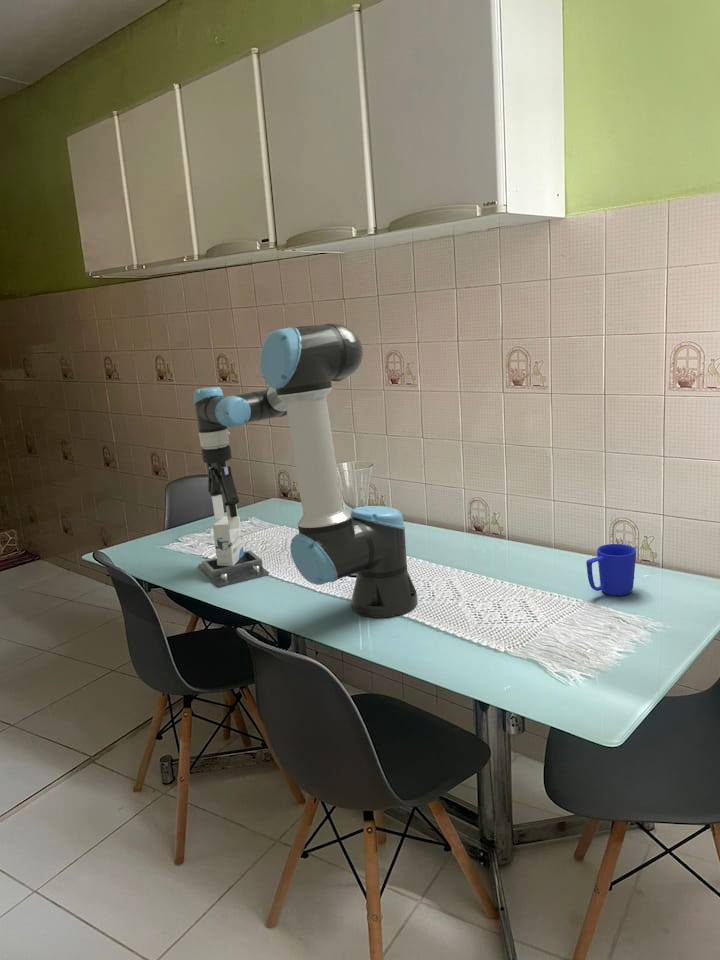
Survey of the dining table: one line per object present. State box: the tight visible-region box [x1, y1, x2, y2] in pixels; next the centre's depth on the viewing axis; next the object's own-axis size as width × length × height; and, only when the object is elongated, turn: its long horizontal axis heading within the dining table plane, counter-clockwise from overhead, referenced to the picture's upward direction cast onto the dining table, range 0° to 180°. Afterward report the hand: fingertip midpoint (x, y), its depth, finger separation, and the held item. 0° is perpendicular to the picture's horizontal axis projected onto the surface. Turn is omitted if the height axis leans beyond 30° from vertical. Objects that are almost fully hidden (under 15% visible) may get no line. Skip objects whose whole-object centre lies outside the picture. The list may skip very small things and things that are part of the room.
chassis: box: [197, 549, 270, 589], centre depth 200 cm, size 20×14×3 cm
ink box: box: [212, 515, 245, 566], centre depth 198 cm, size 9×5×12 cm, turn 168°
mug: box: [586, 543, 637, 597], centre depth 162 cm, size 8×12×10 cm
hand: (227, 523), depth 197 cm, fingers open, 13 cm apart
